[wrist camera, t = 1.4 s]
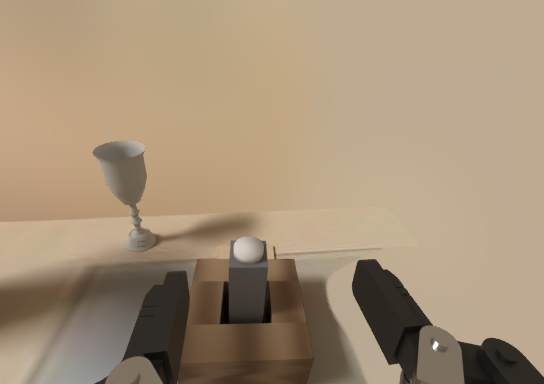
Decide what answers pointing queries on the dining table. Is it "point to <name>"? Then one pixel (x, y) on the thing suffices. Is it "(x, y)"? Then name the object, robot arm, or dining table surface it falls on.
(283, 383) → the wooden square socket block
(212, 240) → the dining table surface
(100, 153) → the chalice
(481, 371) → the robot arm
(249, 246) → the plug
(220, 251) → the pad
